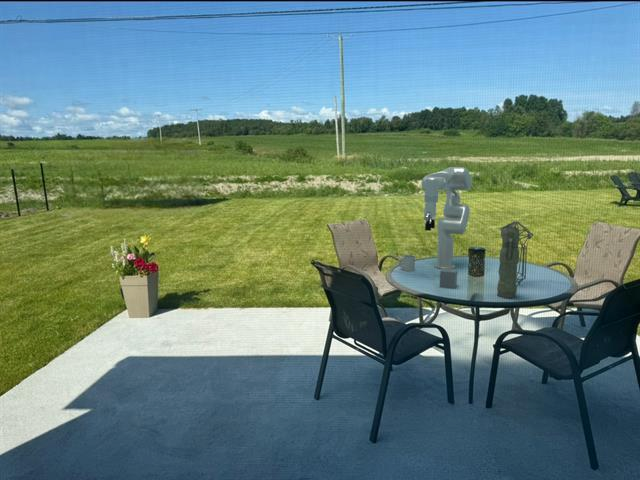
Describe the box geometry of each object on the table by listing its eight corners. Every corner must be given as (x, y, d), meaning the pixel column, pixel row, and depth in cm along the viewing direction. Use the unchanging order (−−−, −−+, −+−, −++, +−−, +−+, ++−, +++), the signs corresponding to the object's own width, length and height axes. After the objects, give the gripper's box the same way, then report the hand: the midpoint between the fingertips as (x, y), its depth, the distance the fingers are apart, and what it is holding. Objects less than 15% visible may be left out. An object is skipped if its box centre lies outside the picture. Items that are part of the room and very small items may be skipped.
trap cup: (442, 283, 250) (443, 268, 249) (456, 285, 247) (457, 269, 245) (439, 287, 243) (440, 271, 242) (454, 288, 240) (455, 272, 238)
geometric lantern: (523, 281, 256) (529, 220, 249) (528, 289, 241) (535, 224, 234) (494, 278, 260) (499, 218, 253) (496, 286, 245) (502, 223, 238)
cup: (413, 271, 277) (414, 257, 275) (397, 270, 279) (398, 256, 278) (415, 269, 283) (415, 255, 282) (399, 268, 286) (399, 254, 285)
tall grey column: (498, 298, 223) (503, 228, 217) (495, 292, 234) (500, 225, 228) (517, 300, 221) (523, 229, 214) (514, 293, 232) (519, 226, 226)
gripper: (427, 198, 265) (426, 227, 268) (421, 200, 250) (419, 231, 253) (440, 198, 262) (439, 227, 265) (434, 201, 247) (433, 231, 250)
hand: (429, 229), depth 259 cm, fingers open, 9 cm apart
